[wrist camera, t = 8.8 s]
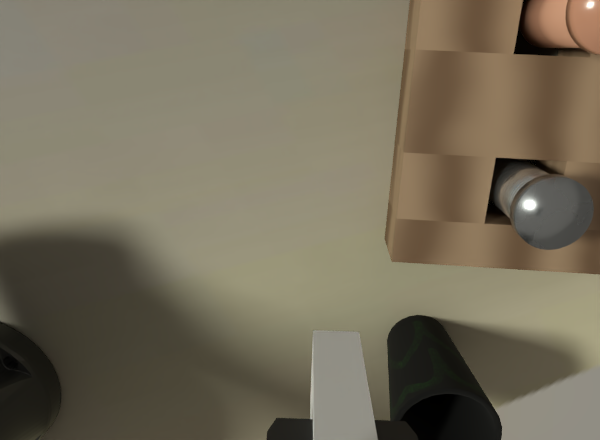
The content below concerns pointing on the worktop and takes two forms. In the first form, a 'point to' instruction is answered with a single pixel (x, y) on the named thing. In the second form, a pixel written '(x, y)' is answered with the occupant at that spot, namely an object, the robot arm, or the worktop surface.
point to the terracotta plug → (562, 24)
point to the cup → (436, 385)
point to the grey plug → (541, 203)
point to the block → (486, 137)
